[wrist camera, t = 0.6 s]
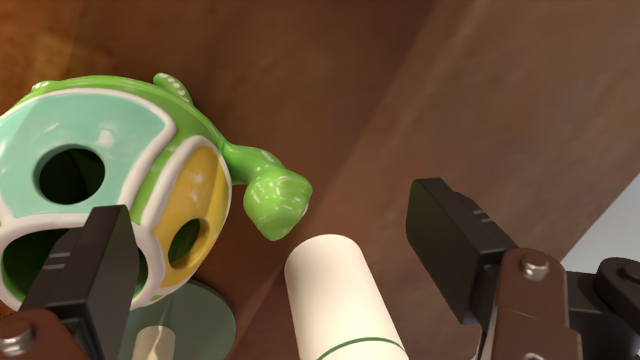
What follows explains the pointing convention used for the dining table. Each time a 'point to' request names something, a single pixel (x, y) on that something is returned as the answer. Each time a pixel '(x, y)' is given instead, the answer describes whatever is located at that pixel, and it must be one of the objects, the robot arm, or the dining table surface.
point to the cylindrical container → (338, 303)
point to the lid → (180, 327)
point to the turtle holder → (129, 178)
